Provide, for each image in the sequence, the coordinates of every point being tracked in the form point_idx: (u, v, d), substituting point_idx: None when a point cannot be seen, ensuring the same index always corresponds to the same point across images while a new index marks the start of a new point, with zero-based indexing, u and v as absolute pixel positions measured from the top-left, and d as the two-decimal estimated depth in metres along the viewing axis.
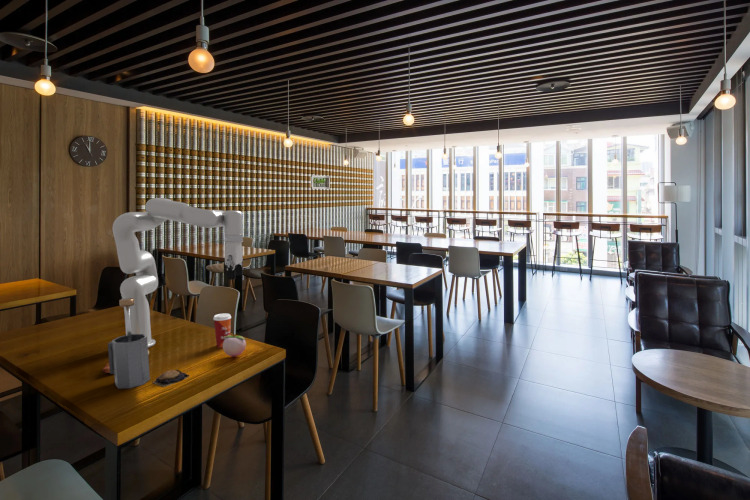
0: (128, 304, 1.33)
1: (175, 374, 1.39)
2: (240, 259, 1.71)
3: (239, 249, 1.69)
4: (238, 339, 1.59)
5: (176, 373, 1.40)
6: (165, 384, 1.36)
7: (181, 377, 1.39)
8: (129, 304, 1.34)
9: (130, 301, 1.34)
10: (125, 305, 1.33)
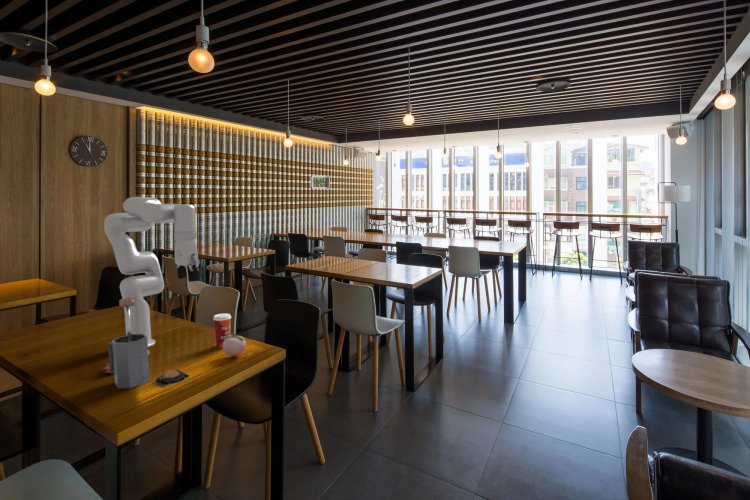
0: (128, 304, 1.33)
1: (175, 374, 1.39)
2: None
3: None
4: (238, 339, 1.59)
5: (176, 373, 1.40)
6: (165, 384, 1.35)
7: (181, 377, 1.39)
8: (129, 304, 1.34)
9: (130, 301, 1.34)
10: (125, 305, 1.33)
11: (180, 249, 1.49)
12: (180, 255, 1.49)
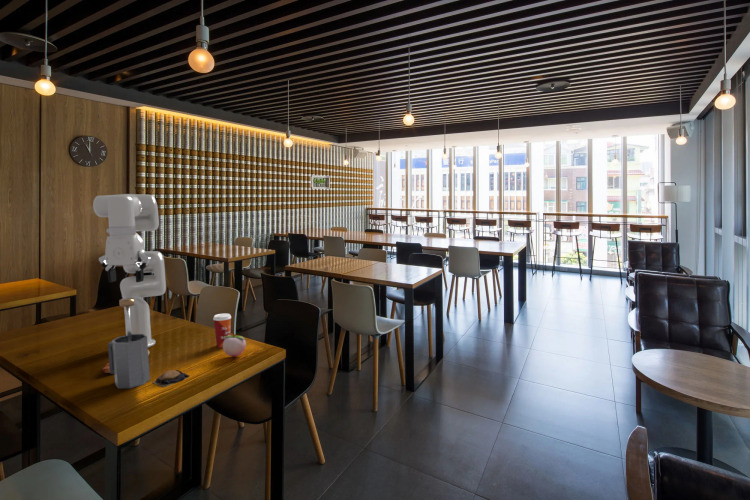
0: (128, 304, 1.33)
1: (175, 374, 1.39)
2: None
3: None
4: (238, 339, 1.59)
5: (176, 373, 1.40)
6: (165, 384, 1.35)
7: (181, 377, 1.39)
8: (129, 304, 1.34)
9: (130, 301, 1.34)
10: (125, 305, 1.33)
11: (121, 247, 1.30)
12: (121, 254, 1.30)
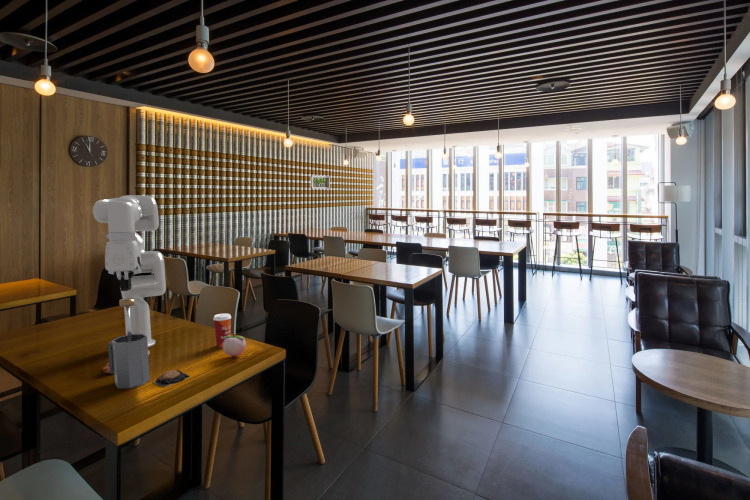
0: (128, 304, 1.33)
1: (175, 374, 1.39)
2: None
3: None
4: (238, 339, 1.59)
5: (176, 373, 1.39)
6: (165, 384, 1.35)
7: (181, 377, 1.39)
8: (129, 304, 1.34)
9: (130, 301, 1.34)
10: (125, 305, 1.33)
11: (120, 252, 1.30)
12: (120, 259, 1.30)
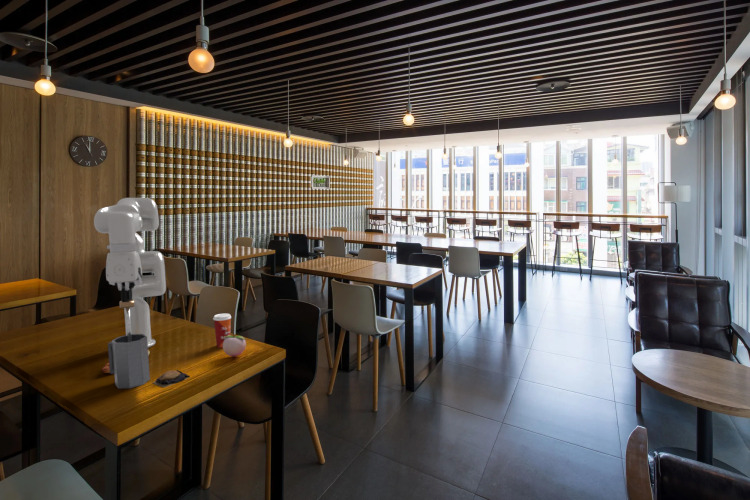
0: (128, 305, 1.33)
1: (175, 374, 1.39)
2: None
3: None
4: (238, 339, 1.59)
5: (176, 373, 1.39)
6: (165, 384, 1.35)
7: (181, 378, 1.39)
8: (129, 305, 1.34)
9: (130, 302, 1.34)
10: (125, 306, 1.33)
11: (121, 263, 1.31)
12: (121, 270, 1.31)
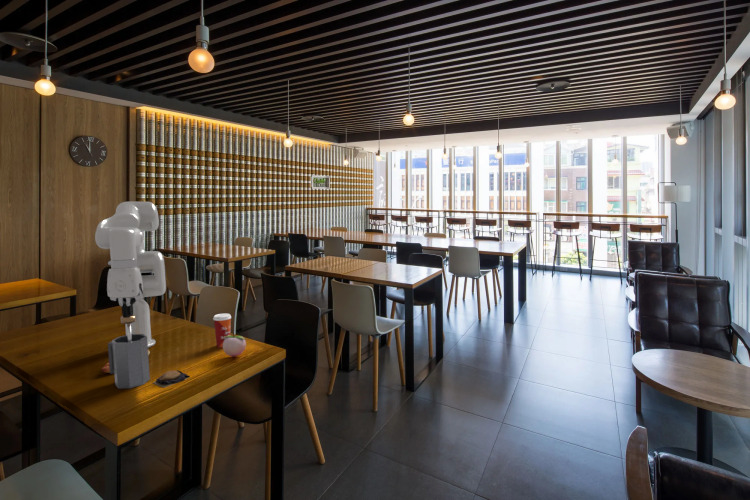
0: (129, 321, 1.34)
1: (175, 375, 1.39)
2: None
3: None
4: (238, 339, 1.59)
5: (176, 374, 1.39)
6: (165, 385, 1.35)
7: (181, 378, 1.39)
8: (130, 321, 1.34)
9: (131, 318, 1.34)
10: (126, 322, 1.34)
11: (122, 279, 1.31)
12: (122, 286, 1.31)
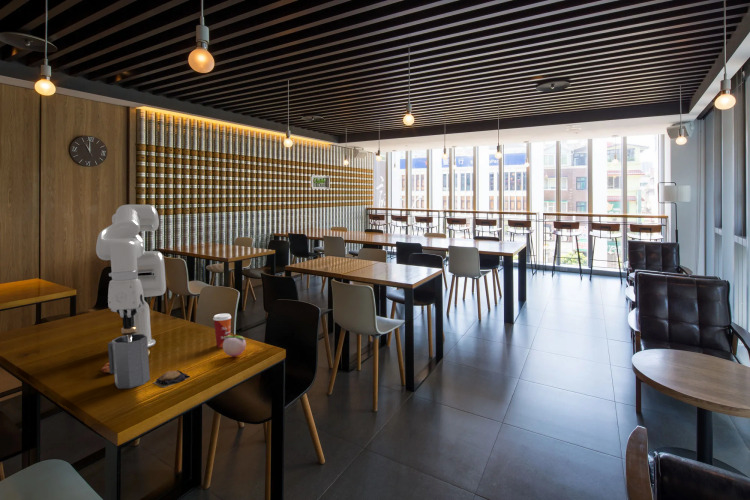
0: (130, 332, 1.34)
1: (176, 375, 1.39)
2: None
3: None
4: (238, 339, 1.59)
5: (177, 374, 1.39)
6: (165, 385, 1.35)
7: (181, 378, 1.39)
8: (131, 332, 1.35)
9: (132, 329, 1.35)
10: (127, 333, 1.34)
11: (123, 291, 1.32)
12: (123, 298, 1.32)
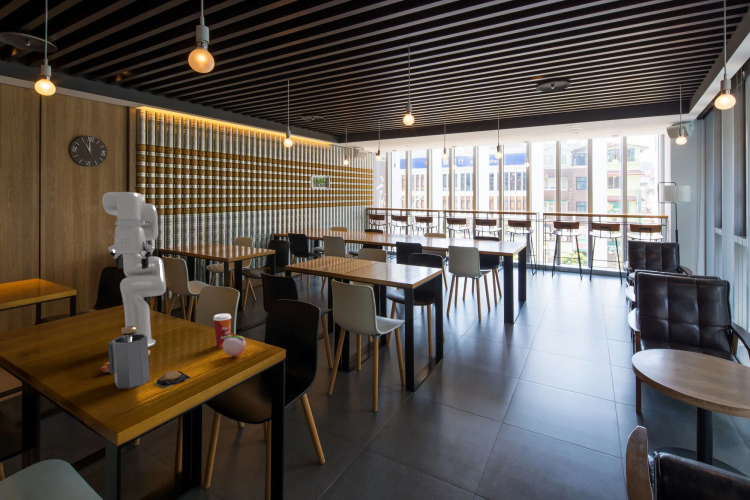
0: (130, 333, 1.34)
1: (176, 375, 1.38)
2: None
3: None
4: (238, 339, 1.59)
5: (177, 374, 1.39)
6: (165, 385, 1.34)
7: (182, 379, 1.38)
8: (131, 333, 1.35)
9: (132, 330, 1.35)
10: (127, 334, 1.34)
11: (128, 237, 1.47)
12: (128, 243, 1.47)
